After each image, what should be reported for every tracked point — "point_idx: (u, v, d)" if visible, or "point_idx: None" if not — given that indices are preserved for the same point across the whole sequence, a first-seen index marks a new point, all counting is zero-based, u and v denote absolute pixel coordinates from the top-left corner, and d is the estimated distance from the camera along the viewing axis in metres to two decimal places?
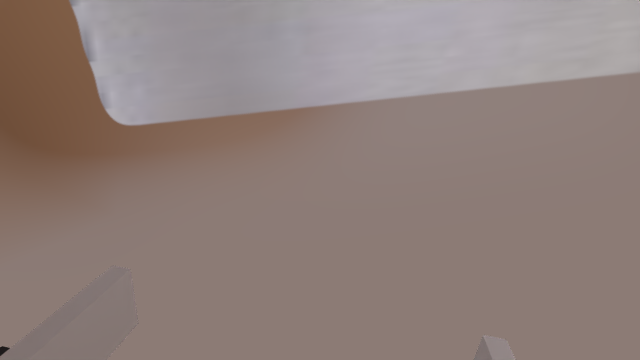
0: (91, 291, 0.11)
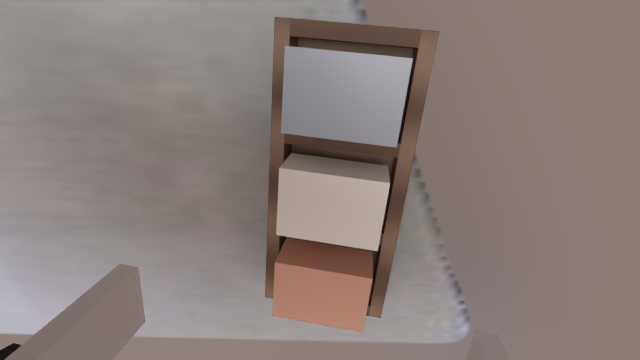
0: (100, 289, 0.11)
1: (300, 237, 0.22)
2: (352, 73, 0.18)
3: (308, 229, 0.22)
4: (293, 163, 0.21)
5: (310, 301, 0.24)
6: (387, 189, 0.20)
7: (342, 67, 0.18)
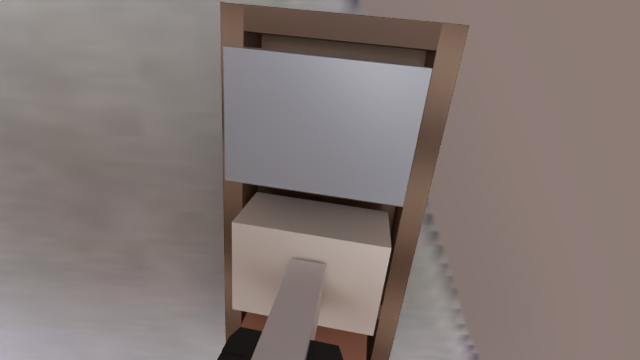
0: (291, 280, 0.13)
1: (266, 313, 0.16)
2: (332, 91, 0.11)
3: None
4: (254, 212, 0.15)
5: None
6: (387, 255, 0.14)
7: (315, 81, 0.11)
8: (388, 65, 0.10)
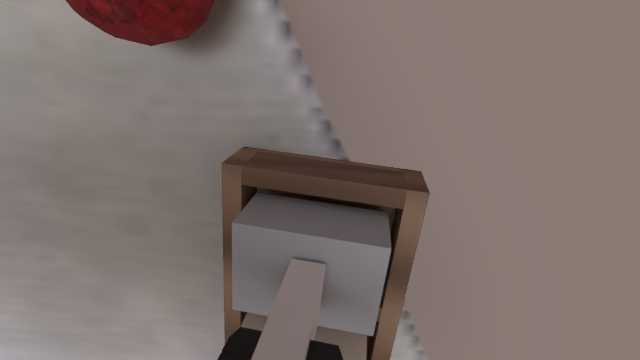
0: (291, 280, 0.13)
1: None
2: (316, 257, 0.14)
3: None
4: None
5: None
6: None
7: (303, 250, 0.14)
8: (358, 244, 0.14)
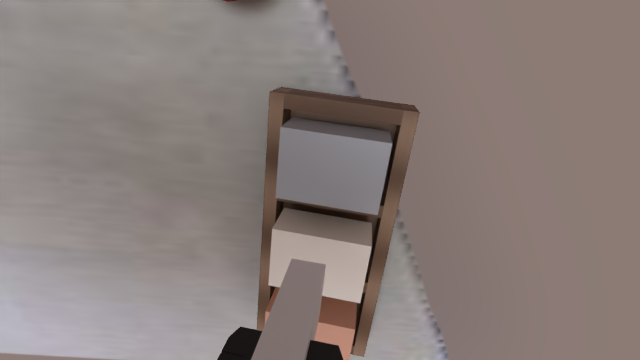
0: (291, 280, 0.13)
1: None
2: (339, 152, 0.20)
3: None
4: (285, 222, 0.23)
5: None
6: (369, 251, 0.22)
7: (330, 147, 0.20)
8: (369, 141, 0.20)
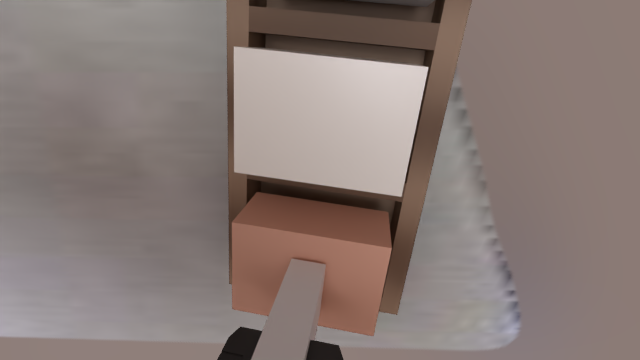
0: (291, 280, 0.13)
1: (274, 176, 0.13)
2: None
3: (286, 160, 0.13)
4: (261, 48, 0.13)
5: None
6: (423, 79, 0.11)
7: None
8: None
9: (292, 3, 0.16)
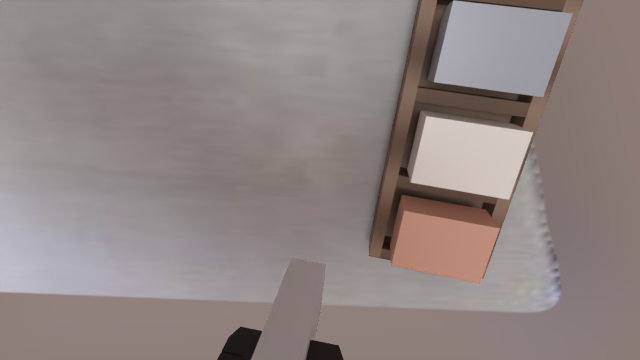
0: (291, 280, 0.13)
1: (434, 185, 0.24)
2: (513, 26, 0.20)
3: (444, 177, 0.23)
4: (433, 115, 0.23)
5: (432, 251, 0.25)
6: (529, 137, 0.21)
7: (504, 21, 0.20)
8: (548, 11, 0.19)
9: None
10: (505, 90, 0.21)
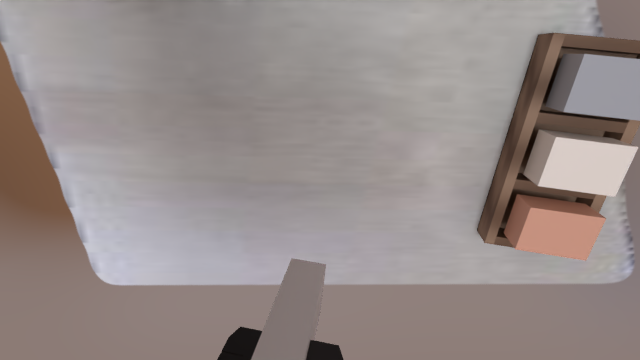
0: (291, 280, 0.13)
1: (555, 188, 0.31)
2: (628, 71, 0.27)
3: (565, 181, 0.31)
4: (557, 135, 0.30)
5: (550, 237, 0.33)
6: (635, 151, 0.29)
7: (622, 68, 0.27)
8: None
9: (542, 105, 0.34)
10: (618, 117, 0.28)
